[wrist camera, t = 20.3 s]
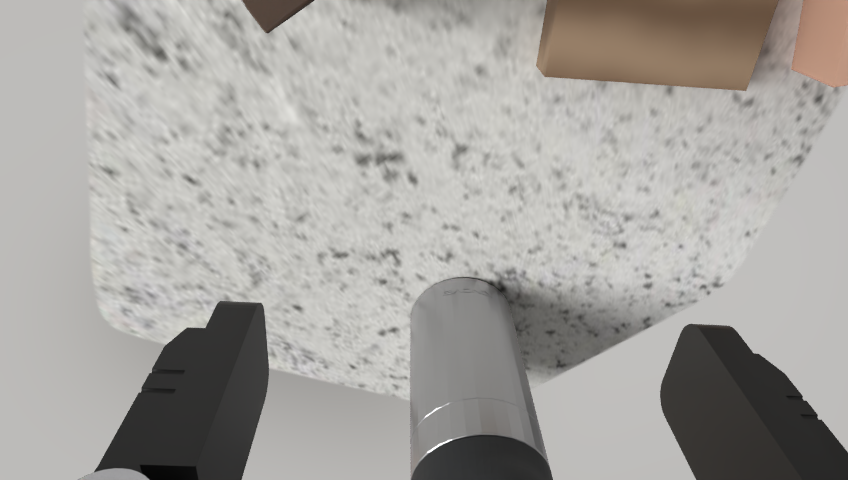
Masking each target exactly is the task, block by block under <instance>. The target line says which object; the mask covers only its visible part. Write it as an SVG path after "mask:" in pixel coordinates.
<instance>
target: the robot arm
mask: <svg viewBox="0 0 848 480" xmlns="http://www.w3.org/2000/svg"><path fill="white" fill-rule="evenodd" d="M268 376H269V363H268V351H267V339H266V327H265V315H264V308H263V305H262V303H251V302H230V301H220V302H219V303H218V304H217V306H216V308H215V310H214V312H213V314H212V316H211V318H210V320H209V322H208V324H207V326H206V328H186V329H185V330H184V331H182V332H181V333H180V334H179V335H178V336H176V337H175V338H174V339H173V340H172V341H170V342H169V343H168V344H167V345H166V346H165V347H164V348H163V350H162V352H161V354H160V356H159V357H158V359H157V361H156V363H155V365H154V366H153V368H152V373H150V374H149V376H148V377H147V379H146V381H145V383H144V384H143V386H142V391H141V393H138V395H137V397H136V399H135V401H134V402H133V404H132V406H131V408H130V410H129V411H128V413H127V415H126V417H125V419H124V420H123V422H122V424H121V426H120V428H119V429H118V431H117V433H116V435H115V437H114V439H113V440H112V442H111V444H110V446H109V447H108V449H107V451H106V453H105V455H104V456H103V458H102V460H101V462H100V464H99V466H98V467H97V468H96V470H95V471H94V473H92V474H89V475H86V476H84V477H82V478H80V479H78V480H241V479H242V476H243V473H244V469H245V466H246V462H247V459H248V456H249V452H250V449H251V445H252V442H253V439H254V435H255V432H256V428H257V425H258V421H259V418H260V415H261V411H262V408H263V404H264V401H265V397H266V392H267V386H268ZM802 397H803V396H802V395H801V393H800V392H799V391H798V390H797V388H796V387H795V386H794V385H793V383H792V382H791V381H790V380H789V378H788V377H787V376H786V375H785V374H784V373H783V372H782V371H780V370H779V369H778V368H777V367H775V366H774V365H773V364H771V363H770V362H769V361H767V360H766V359H765V358H763V357H762V356H761V355H759V354H754V353H753V352H752V351H751V350H750V348H749V347H748V346H747V344H746V343H745V342H744V340H743V339H742V338H741V336H740V335H739V334H738V333H737V332H736V330H735V329H734V328H732V327H730V326H721V325H700V324H699V325H698V324H689V325H687V326H685V327H684V328H683V330H682V332H681V334H680V337H679V339H678V342H677V345H676V347H675V350H674V352H673V355H672V357H671V360H670V363H669V365H668V368H667V370H666V373H665V376H664V378H663V381H662V384H661V391H660V398H661V406H662V410H663V413H664V416H665V418H666V420H667V422H668V424H669V426H670V428H671V430H672V432H673V434H674V436H675V438H676V440H677V442H678V444H679V446H680V448H681V450H682V452H683V454H684V456H685V458H686V460H687V462H688V464H689V466H690V468H691V470H692V472H693V474H694V476H695V478H696V480H848V452H847V451H846V450H845V449H844V447H843V446H842V445H841V444H840V443H839V441H838V440H837V438H836V437H835V436H834V435H833V433H832V432H831V431H830V430H829V428H828V427H827V426H826V425H825V424H824V422H823V421H822V420H818V418H817V416H818V415H817V414H816V412H815V411H814V410H813V409H812V407H811V406H810V405H809V404H808V402H807V401H803V399H802ZM410 407H411V408H410V410H411V411H410V412H411V413H410V417H411V418H410V425H411V426H410V429H411V430H410V437H411V439H410V442H411V480H553V478H552V474H551V470H550V467H549V463H548V459H547V455H546V451H545V447H544V443H543V439H542V435H541V431H540V427H539V423H538V420H537V415H536V411H535V407H534V403H533V399H532V395H531V391H530V387H529V383H528V379H527V375H526V370H525V366H524V362H523V358H522V354H521V350H520V346H519V342H518V337H517V333H516V329H515V325H514V321H513V317H512V313H511V309H510V306H509V304H508V301H507V300H506V298H505V297H504V295H503V294H502V293H501V292H500V291H499V290H498V289H497V288H495V287H494V286H492V285H490V284H489V283H486V282H483V281H481V280H478V279H471V278H454V279H450V280H445V281H442V282H440V283H438V284H435V285H433V286H432V287H430V288H429V289H427V290H426V291H425V292H424V293H423V294H422V295H421V296H420V297H419V298H418V300H417V301H416V303H415V304H414V306H413V309H412V312H411V345H410Z"/></svg>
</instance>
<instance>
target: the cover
mask: <svg viewBox="0 0 848 480" xmlns="http://www.w3.org/2000/svg"><path fill="white" fill-rule="evenodd" d="M791 69H792V70H794V71H797V72H799V73H801V74H804V75H806V76H808V77H811V78H813V79H815V80H817V81H820V82H822V83H824V84H827V85H829V86H831V87H838V86H845V85H848V0H804V1H803V7H802V13H801V18H800V24H799V29H798V35H797V40H796V46H795V52H794V57H793V63H792V68H791Z"/></svg>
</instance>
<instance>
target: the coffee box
mask: <svg viewBox="0 0 848 480" xmlns="http://www.w3.org/2000/svg"><path fill="white" fill-rule="evenodd" d="M241 1H242V2H243V4H244V5H245V6H246V8H247V9H248V10H249V12H250V13H251V15H252V16H253V17H254V18H255V20H256V21H257V22H258V24H259V25H260V26H261V28H262V29H263V30H264V32H265V33H269V32H270V31H272V30H273V29H274V28H276V27H277V26H279V25H280V24H282V23H283V22H285V21H286V20H288V19H289V18H290V17H292V16H293V15H295V14H296V13H297V12H299V11H300V10H302V9H303V8H305V7H306V6H307V5H309V4H310V3H311V2H313V1H314V0H241Z"/></svg>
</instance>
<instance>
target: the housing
mask: <svg viewBox="0 0 848 480" xmlns="http://www.w3.org/2000/svg"><path fill="white" fill-rule="evenodd" d="M777 3H778V0H547V5H546V11H545V17H544V23H543V29H542V35H541V41H540V47H539V53H538V58H537V64H536V66H537V67H538V69H539V70H540V71H541V73H542V74H543V75H544V76H545V77H556V78H571V79H585V80H599V81H613V82H628V83H642V84H656V85H671V86H685V87H699V88H714V89H728V90H742V91H746V90H747V87H748V84H749V81H750V78H751V76H752V73H753V70H754V67H755V64H756V62H757V59H758V56H759V53H760V51H761V48H762V45H763V42H764V39H765V37H766V34H767V31H768V28H769V26H770V23H771V20H772V17H773V14H774V12H775V9H776V6H777Z"/></svg>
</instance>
